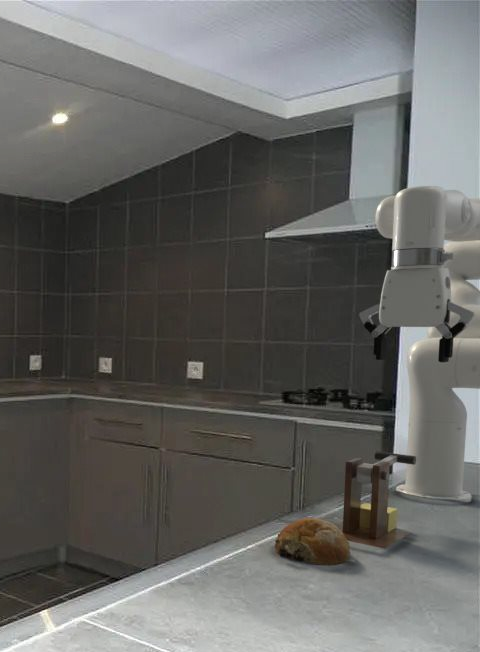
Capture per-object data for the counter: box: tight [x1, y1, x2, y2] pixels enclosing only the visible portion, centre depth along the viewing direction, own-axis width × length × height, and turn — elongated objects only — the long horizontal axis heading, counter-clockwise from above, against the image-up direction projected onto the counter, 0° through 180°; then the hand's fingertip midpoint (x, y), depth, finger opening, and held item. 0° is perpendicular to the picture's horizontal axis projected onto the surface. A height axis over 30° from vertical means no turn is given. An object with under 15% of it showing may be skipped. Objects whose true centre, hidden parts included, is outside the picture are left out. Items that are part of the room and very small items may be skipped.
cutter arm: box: [356, 451, 416, 484], centre depth 118 cm, size 15×6×2 cm, turn 131°
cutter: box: [334, 457, 412, 550], centre depth 115 cm, size 12×10×13 cm
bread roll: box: [274, 517, 352, 566], centre depth 105 cm, size 10×10×8 cm
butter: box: [359, 502, 399, 532], centre depth 118 cm, size 4×5×3 cm
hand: (411, 360), depth 124 cm, fingers open, 9 cm apart
